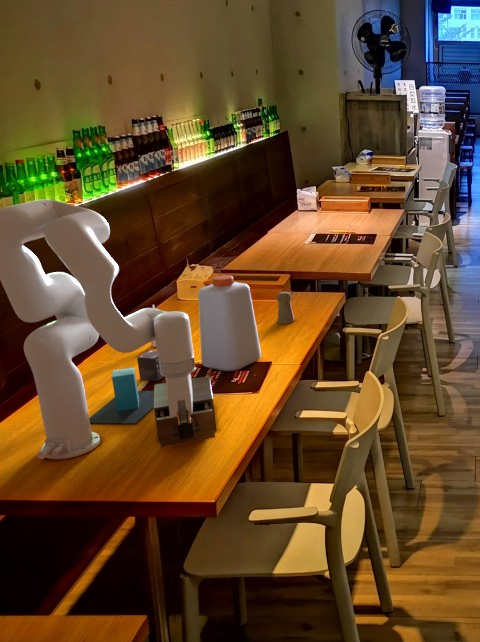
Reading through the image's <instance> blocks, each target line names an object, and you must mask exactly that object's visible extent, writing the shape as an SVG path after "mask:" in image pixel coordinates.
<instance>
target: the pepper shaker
mask: <svg viewBox="0 0 480 642" xmlns="http://www.w3.org/2000/svg"><path fill="white" fill-rule="evenodd" d="M291 300H292V295H291V292H288V291H281V292H279V293H277V294H276V301H277V302H278V303H277V305H278V307H277V323H278V324H281V325H285V324H286V325H287V324H291V323H294V322H295V316H294V313H293V308H292V302H291Z"/></svg>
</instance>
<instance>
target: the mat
mask: <svg viewBox="0 0 480 642" xmlns="http://www.w3.org/2000/svg"><path fill="white" fill-rule="evenodd" d="M138 395H139V408H135V409H129V410H123V411H117V406H116V400H115V396H114V397H113V398H112V399H111V400H109V401H108V402H107V403H105V404H104V405H103V406H102V407H100V409H98V410H97V411H96V412H94V413H93V414H92V415H91V416H89V420H90V425H107V426H108V425H111V426H113V425H114V426H116V425H117V426H118V425H120V426H123V425H124V426H125V425H127V426H129V425H130V426H132V425H133V426H137V425H138V424H139V423H140V422H141V421H142V420H143V419H144V418H145V417H147V416H148V415H149V414H150V413H151V412H152V411H154V390H138Z"/></svg>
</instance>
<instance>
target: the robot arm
mask: <svg viewBox="0 0 480 642" xmlns="http://www.w3.org/2000/svg"><path fill="white" fill-rule="evenodd" d="M110 234H111V229H110V225H109V222H107V220H106V219H105V217H104V216H102V215H101V214H100V213H98V212H96V211H94V210H93V209H89V208H86V207H82V206H79V205H74V204H71V203H67V202H63V201H59V200H55V199H36V200H31V201H28V202H24V203H23V202H22V203H18V204H13V205H9V206H5V207H2V208H0V283H1V285H2V287H3V289H4V292H5V294H6V295H7V298H8V300H9V302H10V304H11V307H12V309H13V311H14V313H15V314H16V316H17V318H19V319H20V320H21V321H22V322H25V323H38V322H41V321H44V320H46V319H48V318H51V317H53V316H55V319H56V320H53V321H52V322H51V321H50V322H48V323H46V324H44V325H42V326H40V327H38V328H36V329H35V330H33V331H31V332H30V333H29V334H28V336H27V337H26V338H25V340H24V342H23V351H24V356H25V358H26V360H27V362H28V364H29V367H30V369H31V373H32V375H33V379H34V383H35V387H36V392H37V393H36V394H37V398H38V402H39V408H40V413H41V418H42V423H43V428H44V434H45V435H44V436H45V439H44V444H42V446H41V447H40V450H39V451H38V452H37V453H36V458H37V459H39V460H43V459H49V460H66V459H72V458H74V457H79V456H82V455H85V454H86V453H89V452H91V451H92V450H94V449H95V448H97V447H98V445H99V444H100V443H101V437H100V434H98V433H97V432H95V431H92V427H91V424H90V420H89V418H90V415H89V408H88V403H87V396H86V391H85V385H84V381H83V376H82V373H81V371H80V369H79V368H78V367H77V366H76V365H75V363H74V362H73V361H72V359H73V358H74V357H76V356H77V355H79V354H81V353H83V352H86V351H87V350H89V349H91V348H92V347H93V346H95V345H96V343H97V342H98V339H99V337H100V338H101V339H103V341H104V342H105V343H106V344H107V346H109V347H110V348H112V349H113V350H115V351H116V352H119V353H122V354H123V353H124V354H127V353H132V352H135V351H136V350H138V349H140V348H142V347H143V346H145V345H147V344H149V343H151V342H152V341H154V340H156V346H157V347H156V351H157V353H158V361H159V368H160V374H161V375H162V376H164V378H165V383H166V388H167V396H168V404H169V412H170V417H171V418H173V417H176V414H177V418H178V422H177V425H178V432H179V439H187V438H192V437H194V430H193V423H192V419H191V414H192V410H193V394H192V382H191V379H192V376H191V375H192V373H194V372H195V371H196V368H197V367H196V360H195V352H194V346H193V345H194V344H193V338H192V337H193V336H192V329H191V321H190V318H189V315H188V314H187V313H186V312H183V311H177V310H176V311H175V310H174V311H167V310H166V311H165V310H161V309H158V308H155V309H154V308H153V307H145V308H141V309H138V310H136V311H135V312H132V313H130V314H128V315H127V316H125V317H124V316H123V315H122V314H121V312H120V311H119V310H118V308H117V307H116V305H115V303H114V301H113V298H112V286H113V283H114V281H115V279H116V278H117V276H118V274H119V272H120V267H119V265H118V263H117V262H116V261H115V260H114V259H113V257H111V255H110V254H109V252H108V251H107V250H106V249H105V247H104V246H103V245H102V244H104V243H106V241H107V240H109V238H110ZM42 238H44V239H45V241H46V243H47V244H48V246H49V247H50V248H51V250H52V251H53V252H54V253H55V255H56V257H58V258H59V260H60V261H61V262H62V263H63V264H64V266H65V267H66V268H67V269H68V271H69V272H70V273H71V274H72V275H71V274H69V273H66V272H64V271H56V272H55V271H54V272H50V273H47V274H46V273H45V271H44V269H43V267H42V264H41V262H40V260H39V258H38V257H37V256H36V255H35V254H34V253H33V252H32V251H31V249H29V248H28V247H26V246H25V245H24V244H25V243H27V242H30V241H35V240H38V239H42Z"/></svg>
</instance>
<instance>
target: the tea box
mask: <svg viewBox="0 0 480 642" xmlns="http://www.w3.org/2000/svg"><path fill="white" fill-rule="evenodd" d="M111 381H112V387H113V393H114V397H115V400H116V406H117V411H123V410H129V409H135V408H139V395H138V391H139V389H138V383H137V382H138V381H137V376H136V370H135V366H134V367H127V368H121V369H113V370H112V375H111Z"/></svg>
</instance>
